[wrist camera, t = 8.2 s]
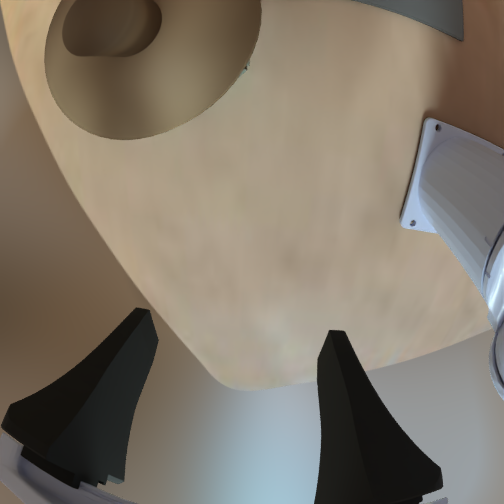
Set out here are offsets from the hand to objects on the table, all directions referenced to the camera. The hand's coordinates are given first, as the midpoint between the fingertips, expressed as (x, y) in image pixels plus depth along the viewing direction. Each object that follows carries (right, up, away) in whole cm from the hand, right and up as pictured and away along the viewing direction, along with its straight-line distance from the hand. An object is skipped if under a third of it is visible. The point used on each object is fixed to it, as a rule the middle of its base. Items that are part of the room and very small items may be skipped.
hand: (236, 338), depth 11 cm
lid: (-5, +14, -2) cm, 15 cm away
